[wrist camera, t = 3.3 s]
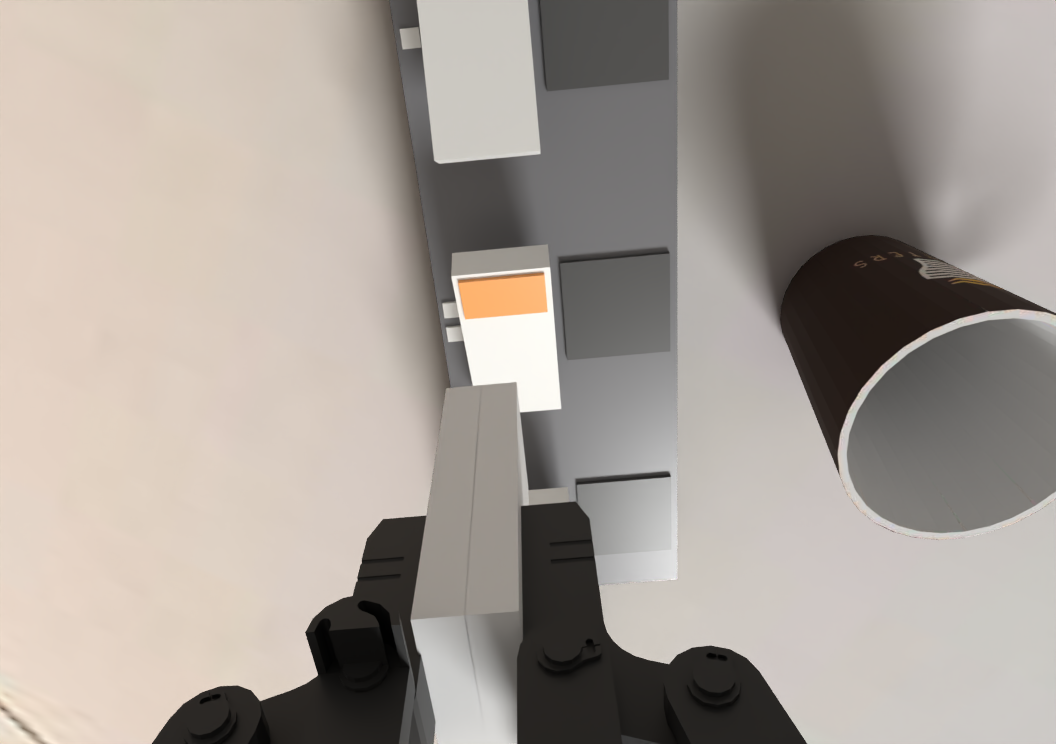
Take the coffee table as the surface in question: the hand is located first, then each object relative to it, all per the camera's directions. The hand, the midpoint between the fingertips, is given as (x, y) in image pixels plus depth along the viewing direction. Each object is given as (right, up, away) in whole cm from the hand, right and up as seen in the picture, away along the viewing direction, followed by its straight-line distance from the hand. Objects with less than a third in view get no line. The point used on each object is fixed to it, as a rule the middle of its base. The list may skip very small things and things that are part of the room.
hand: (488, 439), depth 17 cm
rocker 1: (-1, +11, +6) cm, 13 cm away
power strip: (+2, +2, +18) cm, 18 cm away
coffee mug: (+16, +4, +17) cm, 24 cm away
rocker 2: (0, +3, +11) cm, 12 cm away
